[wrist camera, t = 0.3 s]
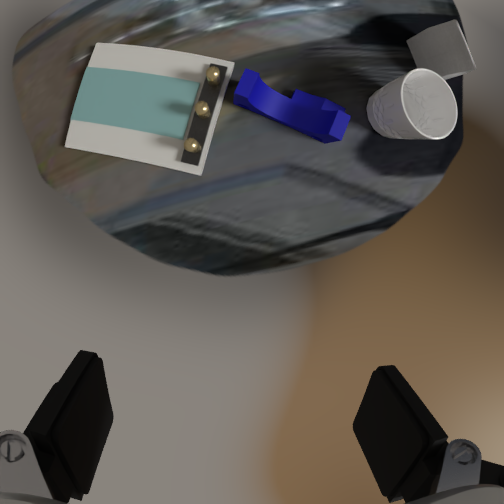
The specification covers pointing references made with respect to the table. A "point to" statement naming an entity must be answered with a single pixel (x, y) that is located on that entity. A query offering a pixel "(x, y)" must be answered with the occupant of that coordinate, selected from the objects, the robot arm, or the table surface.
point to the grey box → (442, 50)
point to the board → (142, 104)
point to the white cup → (414, 107)
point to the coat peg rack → (203, 114)
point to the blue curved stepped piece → (292, 108)
